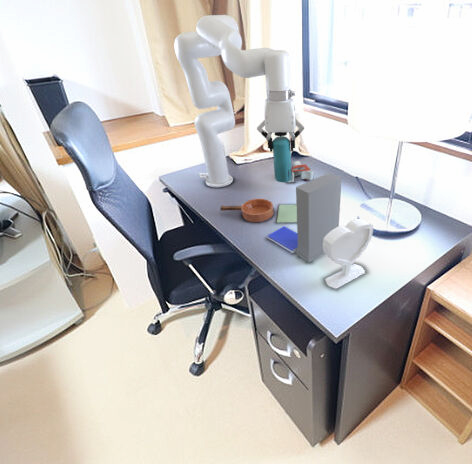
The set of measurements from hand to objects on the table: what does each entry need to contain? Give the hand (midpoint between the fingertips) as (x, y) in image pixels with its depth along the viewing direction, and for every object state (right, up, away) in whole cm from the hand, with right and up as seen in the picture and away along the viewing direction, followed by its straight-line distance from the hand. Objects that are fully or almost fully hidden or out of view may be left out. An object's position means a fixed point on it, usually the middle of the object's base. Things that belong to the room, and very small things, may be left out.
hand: (281, 149), depth 111 cm
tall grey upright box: (+12, -35, -4) cm, 37 cm away
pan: (-10, -22, +15) cm, 28 cm away
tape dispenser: (+6, -1, +44) cm, 44 cm away
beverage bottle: (0, -10, +7) cm, 13 cm away
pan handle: (-21, -20, +14) cm, 32 cm away
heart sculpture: (+20, -42, -15) cm, 49 cm away
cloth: (+3, -21, +15) cm, 26 cm away
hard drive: (+2, -32, 0) cm, 32 cm away
